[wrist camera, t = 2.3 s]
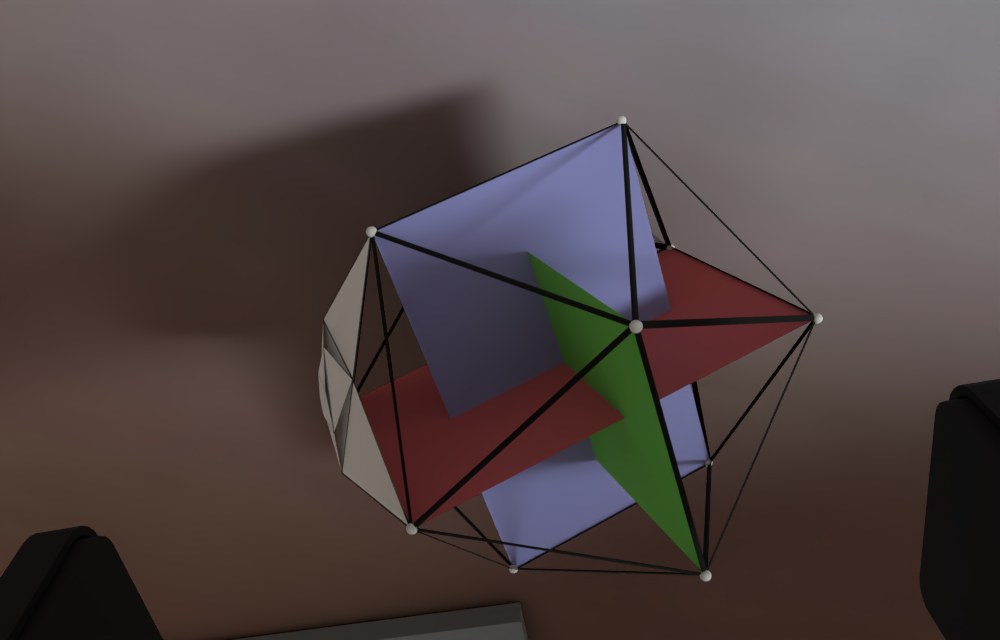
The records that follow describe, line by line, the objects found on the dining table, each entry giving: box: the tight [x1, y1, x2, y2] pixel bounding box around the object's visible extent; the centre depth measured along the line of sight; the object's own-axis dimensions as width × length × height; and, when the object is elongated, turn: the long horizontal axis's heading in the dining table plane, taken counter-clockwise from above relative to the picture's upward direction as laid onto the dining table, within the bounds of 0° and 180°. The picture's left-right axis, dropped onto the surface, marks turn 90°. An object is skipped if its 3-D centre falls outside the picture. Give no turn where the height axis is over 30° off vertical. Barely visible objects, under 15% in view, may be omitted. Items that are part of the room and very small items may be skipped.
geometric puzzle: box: [318, 116, 823, 581], centre depth 14 cm, size 7×7×8 cm
